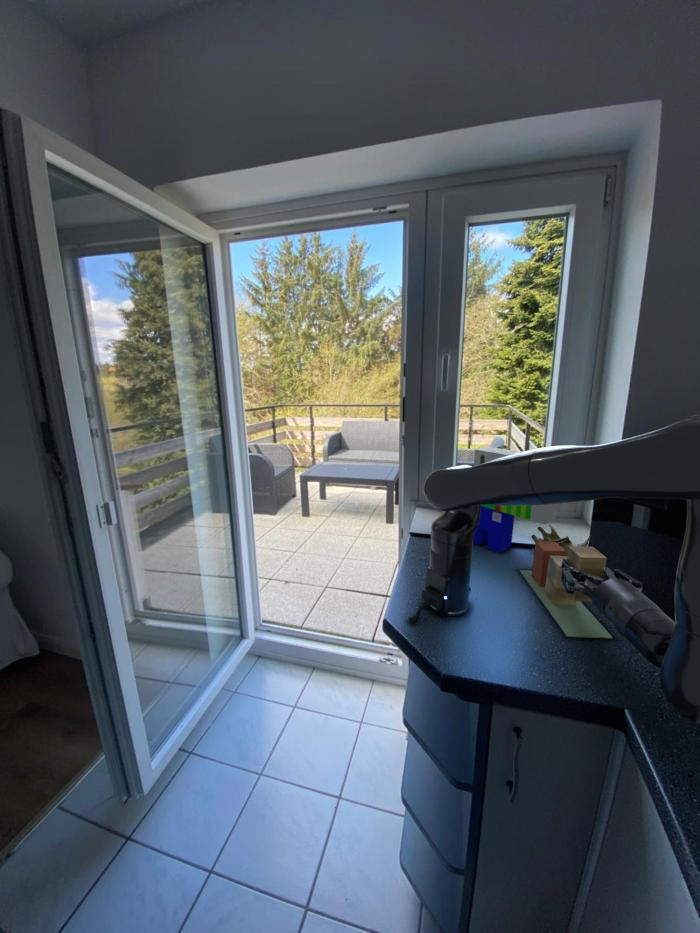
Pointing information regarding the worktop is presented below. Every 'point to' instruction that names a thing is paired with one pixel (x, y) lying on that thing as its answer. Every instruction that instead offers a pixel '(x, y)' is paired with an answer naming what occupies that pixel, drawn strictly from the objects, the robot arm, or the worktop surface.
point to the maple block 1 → (557, 583)
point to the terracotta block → (544, 560)
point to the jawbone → (556, 539)
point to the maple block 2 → (586, 565)
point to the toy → (505, 510)
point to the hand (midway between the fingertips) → (577, 563)
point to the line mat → (569, 614)
